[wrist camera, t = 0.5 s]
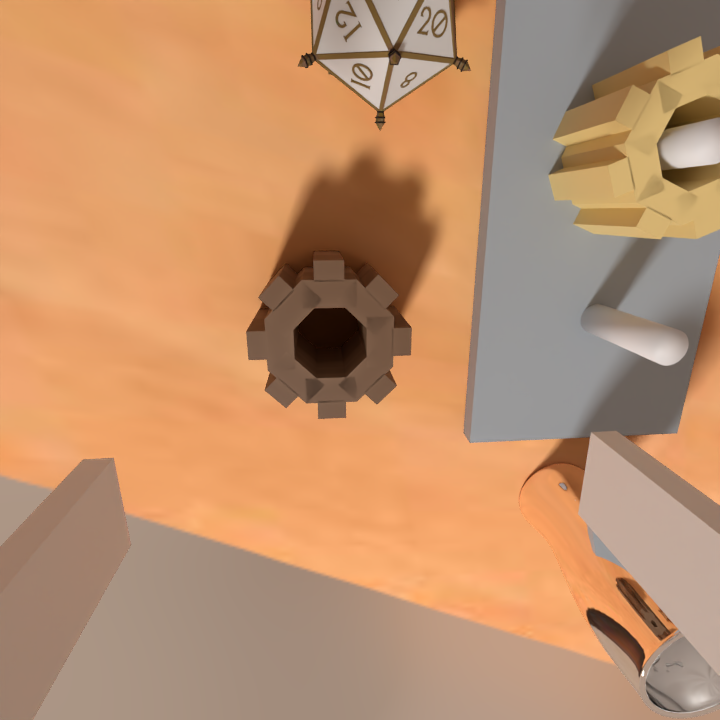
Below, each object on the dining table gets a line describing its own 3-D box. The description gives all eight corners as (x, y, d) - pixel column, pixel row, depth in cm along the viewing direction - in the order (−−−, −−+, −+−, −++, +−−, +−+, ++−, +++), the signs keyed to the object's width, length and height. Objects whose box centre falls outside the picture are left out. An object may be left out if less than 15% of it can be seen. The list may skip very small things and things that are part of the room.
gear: (532, 111, 27) (590, 84, 21) (678, 46, 26) (778, 1, 21) (568, 256, 29) (628, 267, 24) (701, 200, 29) (794, 197, 23)
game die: (385, 36, 29) (523, -100, 21) (390, 165, 29) (532, 77, 21) (253, -37, 24) (371, -254, 16) (257, 121, 24) (380, -21, 15)
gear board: (497, -14, 26) (579, -116, 18) (758, -3, 27) (945, -94, 19) (463, 433, 34) (508, 500, 26) (662, 424, 36) (763, 486, 28)
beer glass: (606, 508, 38) (780, 686, 24) (529, 544, 38) (655, 740, 24) (581, 443, 36) (756, 596, 21) (500, 482, 36) (619, 657, 22)
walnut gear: (255, 251, 29) (240, 261, 23) (395, 250, 30) (414, 259, 24) (264, 383, 32) (253, 421, 26) (392, 379, 33) (408, 415, 27)
